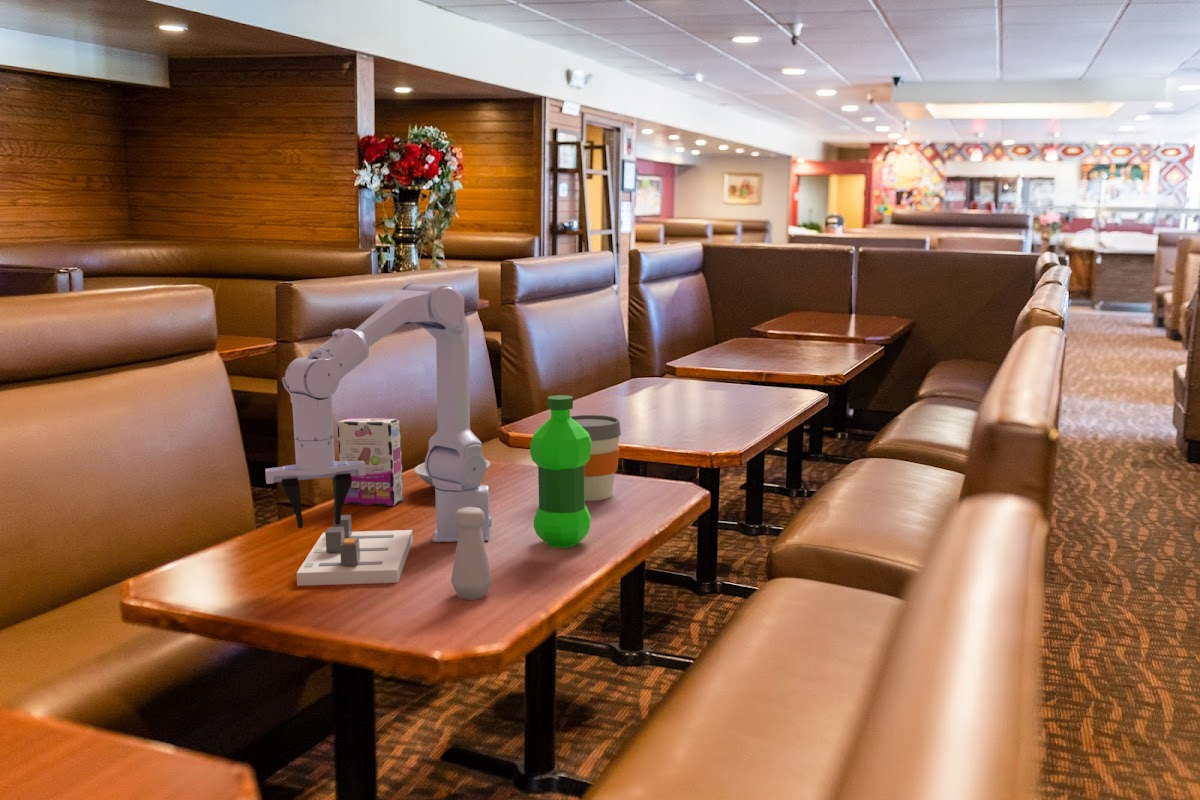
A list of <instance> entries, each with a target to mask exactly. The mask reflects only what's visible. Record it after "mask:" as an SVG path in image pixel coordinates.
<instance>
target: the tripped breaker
mask: <svg viewBox="0 0 1200 800" xmlns="http://www.w3.org/2000/svg"><path fill="white" fill-rule="evenodd" d="M340 553H341V566H342V565H357V564H358V562H359V560H360V546H359V539H356V538H345V539H343V541H342V543H341V545H340Z"/></svg>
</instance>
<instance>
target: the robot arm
mask: <svg viewBox="0 0 1200 800" xmlns="http://www.w3.org/2000/svg"><path fill="white" fill-rule="evenodd" d="M406 323H412V324H415V325H418V326H419V327H421V328H423V329H424V330H425V331H427V332H428V333H429V334H430V335H431V336H432V337H433V338H434V339H435V344H436V347H435V348H436V349H435V350H436V353H435V354H436V358H435V359H436V400H437V401H436V404H437V405H436V406H437V407H436V411H437V413H436V415H437V430H436V432H435V433H434V434H433V435H432V436H431V437H430V438H429V439H428V449H427V454H426V455H425V459H424V463H425V470H426V473H427V474H428V476H429V477H430V478H432V484H433V485H435V487H434V490H435V491H434V492H435V493H434V494H435V521H436V527H435V531H434V534H433V537H432V542H433V543H443V542H444V543H445V542H449V543H451V542H458V536H459V530H460V527H458V526H457V525H456V524H455V519H454V517H455V513H456V512H457V511H458V510H459V509H461V508H465V507H476V508H480V509H481V510H482V511H483V512H484V515H485V521H484V524H483V525H481V529H482V534H483V539H484V542H486V541H489V540H490V533H491V528H492V522H493V521H492V516H491V515H490V514H491V513H490V512H491V511H490V510H491V509H490V505H491V504H490V486H489V485H487V484H481V482H482V481H483V479H484V478H485V475H486V473H487V469H486V461H485V459H486V458H485V456H484V453H483V443H482V441H481V440H480V439H479V438H478V436H476V435H475V434H474V433H473V432H472V430H471V405H470V404H471V402H470V401H471V398H470V397H471V396H470V395H471V394H470V390H471V389H470V388H471V387H470V386H471V384H470V327H469V324H468V321H467V318H466V314H465V297H464V296H463V294H461V292H459V291H458V290H457V289H456V288H455V287H454V286H452V285H450V284H441V285H439V284H437V285H436V284H421V283H420V284H419V283H414V282H410V283H406V284H404V285H403V286H402V287H401V288H400V289H398V290H395V291H394V292H392V294H391V298H390V299H389V300H388V301H386V302H385V303H384V304H383V305H382V306H381V307H379V309H377V310H376V311H375V312H374V313H372V314H371V315H370V316H369V317H368V318H367V319H366V320H364V321H363V322H362V323H361V324H360V325H358V327H356V328H355V329H351V328H343V329H340V328H338V329H335V330H334V331H333V332H331V335H332V337H330V338H329V339H328V340H327V341H325V342H324V343H322V344H321V345H320V346H318V348H317V347H313V348H312V349H311V350H309V354H308V355H307V357H305V356H303V357H298V358H295V359H293V360H292V361H291V362H290V363H289V365H288V366H287V368H286V370H285V374H284V376H283V377H282V378H281V380H282V385H283V387H284V389H285V390H286V391H287V392H288V393H289V397H290V403H291V405H292V418H293V422H292V423H293V439H294V454H295V464H290V465H283V466H277V467H269V468H265V482H266V484H267V485H269V484H275V483H278V482H279V483H281V488H282V489H283V492H284V493H285V494H286V497H287V498H288V501H289V503H290V505H291V507H292V509H293V511H294V515H295V517H296V525H297V528H298V529H303V528H304V521H303V514H302V506H301V505H302V504H301V487H300V481H302V480H304V481H305V480H312V479H313V480H314V479H315V480H316V479H326V478H327V479H328V478H331V479H332V486H333V487H332V490H333V500H334V501H333V520H334V522H335V524H336V525H338V524H340V520H341V515H342V513H343V508H344V505H345V504H344V501H345V498H346V496H347V493H348V491H349V489H350V487H351V484H352V479H351V476H352V475H358V476H364V475H366V472H365V463H364V461H339V460H338V461H337V460H336V459H335V458H336V457H335V442H334V441H335V440H334V439H335V437H334V422H333V421H334V420H333V401H332V395H334V394H335V393H336V391H337V390H338V388H339V385H340V381H342V379H343V378H344V377H345V376H346V375H347V374H349V373H350V372H351V371H353V370H354V369H356V368H357V367H358V366H359V365H361V364H362V363H363V362H364V361H365V360H367V358H368V357H369V353H370V347H372V346H373V345H374V344H375V343H377V342H378V341H380V340H381V339H384V338H385V337H386V336H388V335H389V334H390V333H392V332H393V331H395V330H396V329H398V328H399V327H401V326H402V325H404V324H406Z"/></svg>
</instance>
